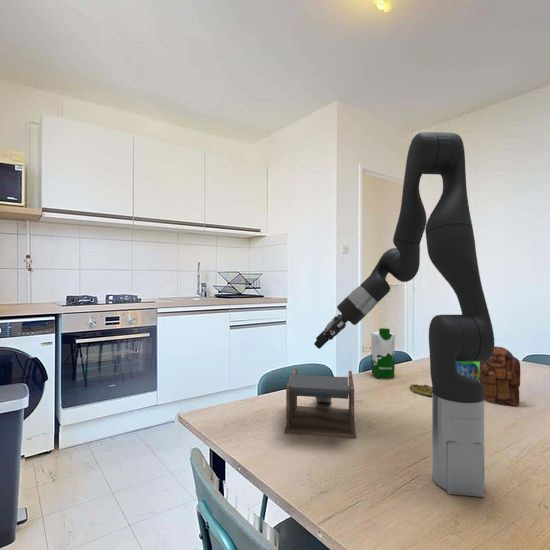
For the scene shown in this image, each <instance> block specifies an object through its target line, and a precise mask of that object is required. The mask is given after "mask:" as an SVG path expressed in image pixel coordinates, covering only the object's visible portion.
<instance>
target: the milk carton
mask: <svg viewBox="0 0 550 550" xmlns="http://www.w3.org/2000/svg"><path fill="white" fill-rule="evenodd" d="M390 331H391V330H390V328H387V327H386V328H385V327H384V328H379V329H378V331H371V332H370V335H371V336H370V341H371V345H370V346H371V347H370V348H371V360H370V361H371V362H370V363H371V375H372V374H373V375H374V376H375V377H374V376H373V375H372V376H373V377H374V378H376V379H378V380H381V379H380V378H394V379H395V368H396V367H395V364H396V363H395V362H396V361H395V360H396V359H395V356H396V355H395V344H396V343H395V338H396V335H395V334H394V333H392V332H390Z"/></svg>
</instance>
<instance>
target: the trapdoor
mask: <svg viewBox="0 0 550 550" xmlns="http://www.w3.org/2000/svg"><path fill="white" fill-rule="evenodd" d="M290 377H291V381H290V387H291V389H292V390H294V392H295V393H296V395H297V397H311V398H312V397H313V398H316V397H325V398H331V399H346V400H347V399H348V400H349V376H330V375H329V376H327V375H312V374H311V375H305V374H297V375H292V374H290Z"/></svg>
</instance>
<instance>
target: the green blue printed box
mask: <svg viewBox="0 0 550 550" xmlns="http://www.w3.org/2000/svg"><path fill="white" fill-rule="evenodd" d="M456 369H457V372H458V373H459V374H461V375H463V376H466V377H469V378H472V379H475V380H477V381H479V382H480V372H481V371H480V362H472V361H471V362H456Z"/></svg>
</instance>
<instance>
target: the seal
mask: <svg viewBox="0 0 550 550" xmlns="http://www.w3.org/2000/svg"><path fill="white" fill-rule="evenodd" d="M409 390H410V391H411V392H412V393H413V392H414V393H413V394H417V395H418V396H422V397H427V398H431V399H432V386H430V385H428V384H423V385H422V384H421V385H419V384H410V385H409Z"/></svg>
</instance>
